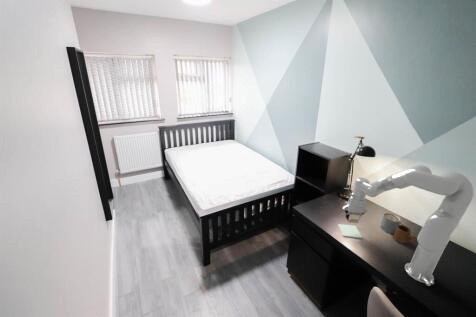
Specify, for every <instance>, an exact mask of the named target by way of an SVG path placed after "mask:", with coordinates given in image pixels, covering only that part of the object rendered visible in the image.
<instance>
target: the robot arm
mask: <svg viewBox="0 0 476 317" xmlns="http://www.w3.org/2000/svg"><path fill="white" fill-rule="evenodd" d="M411 186H412V187H415V188H417V189H421V190H424V191H427V192H430V193H433V194H435V195H440V196H444V197H443V199H442V201H441V203H440V205H439V207H438V208H437V209H436V210H435V211H434V212H432V213H431V214H430V216H429V217H428V218H426V221H425V222H424V224H423V225H422V227H421V229H420V231H419V232H418V235H417V237H416V241H417V243H418V244H417V246H416V248H415V250H414V253H413V256H412V258H411V260H410V262H406V263H405V265H404V270H405V271H406V272H405V273H407V274H408V276H410V277H411V278H413V280H415V281H418V282H419V283H423V284H425V285H426V286H428V287H430V286H432V285H434V284H435V277H434V275H433V272H434V271H435V269H436V267H437V264H438V262H439V261H440V258H441V257H442V255H443V253H444V250H445V249H446V247H447V246H448V243H449V241H450V239H451V235H452V233H453V232H454V231H455V229H457V228H458V226H459V223H460V221H461V219H462V217H463V216H464V215H465V213H466V211H467V209H469V206H470V204H471V203H472V201H473V197H474V186H473V184H472V182H471V181H470V179H469V178H467V176H465V174H462V173H460V172H458V171H449V172H445V173H443V174H441V175H436V174H433V173H432V170H431V169H430V167H428V166H427V165H423V164H419V165H415V166H412V167H410V168H407V169H404V170H402V171H398V172H397V173H393V174H391V175H389V176H386V177H385V178H381V179H379V180H375V181H373V182H370V180H369V179H367V178H366V177H357V178H356V179H355V182H354V187H353V190H352V192H351V193H349V196H350V197H349V198H348V201H347V203H346V205H344V206H343V207H342V210H343V211H344V213H345V219H346V220H347V221H348V219H349V214H350V212H352V213H359V214H360V217H362V216H363V215H365V214H366V213H368V210H367V209H366V206H367V200H366V197H367V196H368V197H371V198H375V197H378V196H379V195H381V194H382V193H385V192H388V191H391V190H393V189H394V190H395V189H400V190H402V189H406V188H408V187H411Z"/></svg>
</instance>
